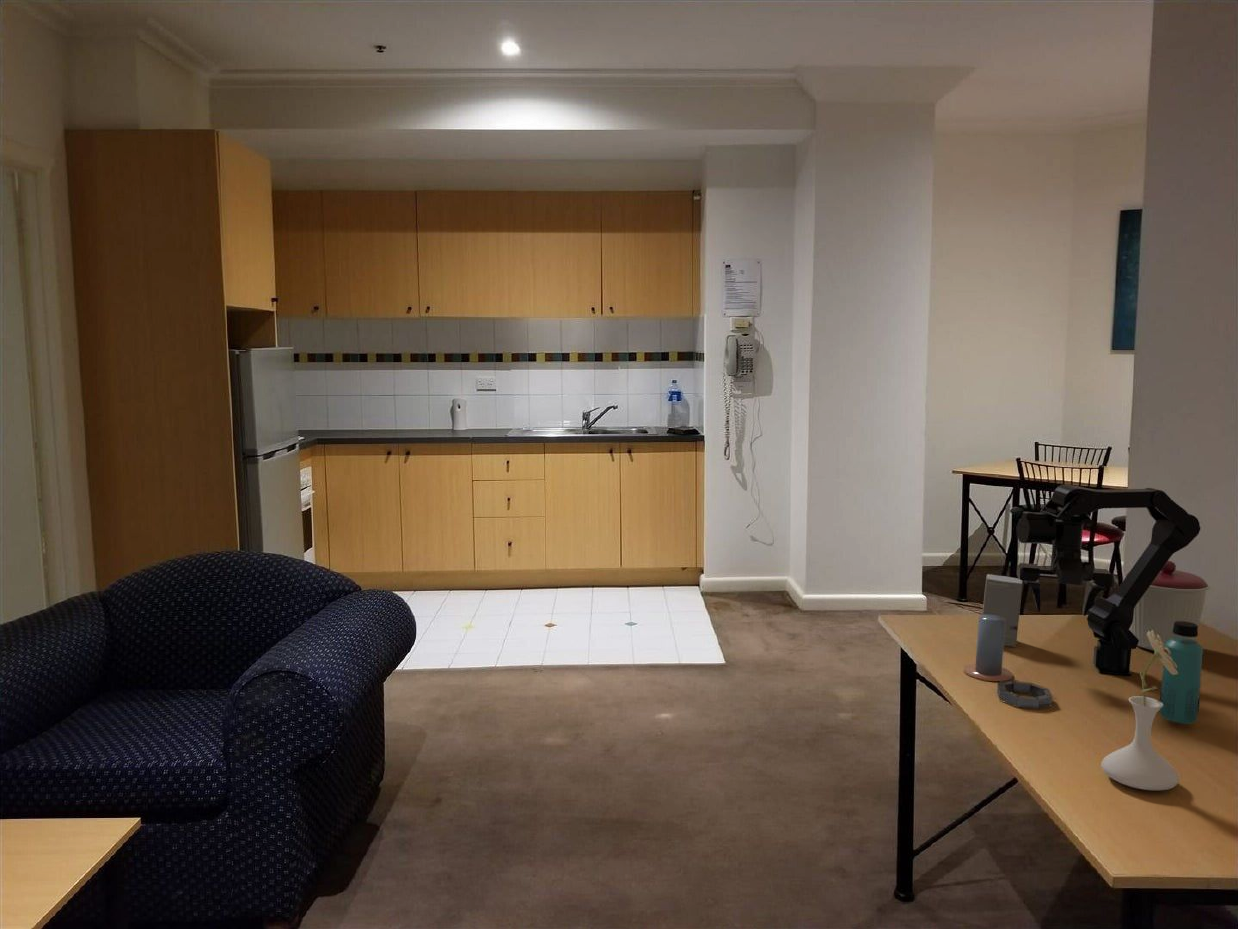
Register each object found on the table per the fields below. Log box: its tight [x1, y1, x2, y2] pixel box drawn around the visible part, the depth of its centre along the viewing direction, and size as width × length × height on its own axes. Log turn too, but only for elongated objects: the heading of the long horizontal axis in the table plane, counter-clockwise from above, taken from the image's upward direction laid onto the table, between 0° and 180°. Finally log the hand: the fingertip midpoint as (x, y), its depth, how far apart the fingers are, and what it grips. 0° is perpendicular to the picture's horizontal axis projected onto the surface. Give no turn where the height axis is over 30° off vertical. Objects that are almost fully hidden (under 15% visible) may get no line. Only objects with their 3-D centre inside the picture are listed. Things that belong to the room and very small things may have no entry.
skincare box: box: [981, 573, 1023, 648], centre depth 232 cm, size 8×7×16 cm
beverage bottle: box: [1159, 621, 1204, 724], centre depth 183 cm, size 6×7×20 cm
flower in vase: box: [1100, 630, 1180, 791], centre depth 159 cm, size 13×11×25 cm
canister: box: [1122, 560, 1211, 652], centre depth 230 cm, size 18×18×21 cm
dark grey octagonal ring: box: [996, 680, 1053, 710], centre depth 196 cm, size 10×10×2 cm
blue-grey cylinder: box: [975, 614, 1006, 676], centre depth 210 cm, size 5×5×12 cm
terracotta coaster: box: [963, 663, 1014, 682], centre depth 210 cm, size 10×10×1 cm
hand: (1061, 613), depth 212 cm, fingers open, 9 cm apart
